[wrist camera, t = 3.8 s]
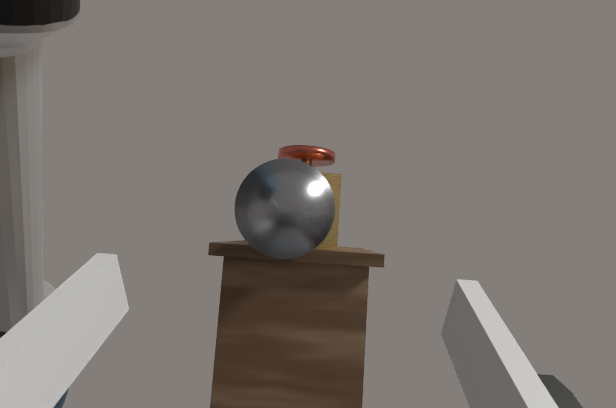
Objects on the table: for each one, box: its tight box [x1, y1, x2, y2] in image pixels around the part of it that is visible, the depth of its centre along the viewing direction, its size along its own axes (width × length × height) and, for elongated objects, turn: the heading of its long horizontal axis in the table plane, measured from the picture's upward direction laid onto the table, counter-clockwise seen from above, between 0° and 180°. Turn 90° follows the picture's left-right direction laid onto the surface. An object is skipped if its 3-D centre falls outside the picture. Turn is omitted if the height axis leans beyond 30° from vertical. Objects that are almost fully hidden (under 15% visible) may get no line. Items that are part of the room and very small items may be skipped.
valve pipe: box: [235, 145, 341, 259], centre depth 27 cm, size 24×7×10 cm, turn 179°
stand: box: [208, 240, 384, 408], centre depth 32 cm, size 14×14×30 cm
